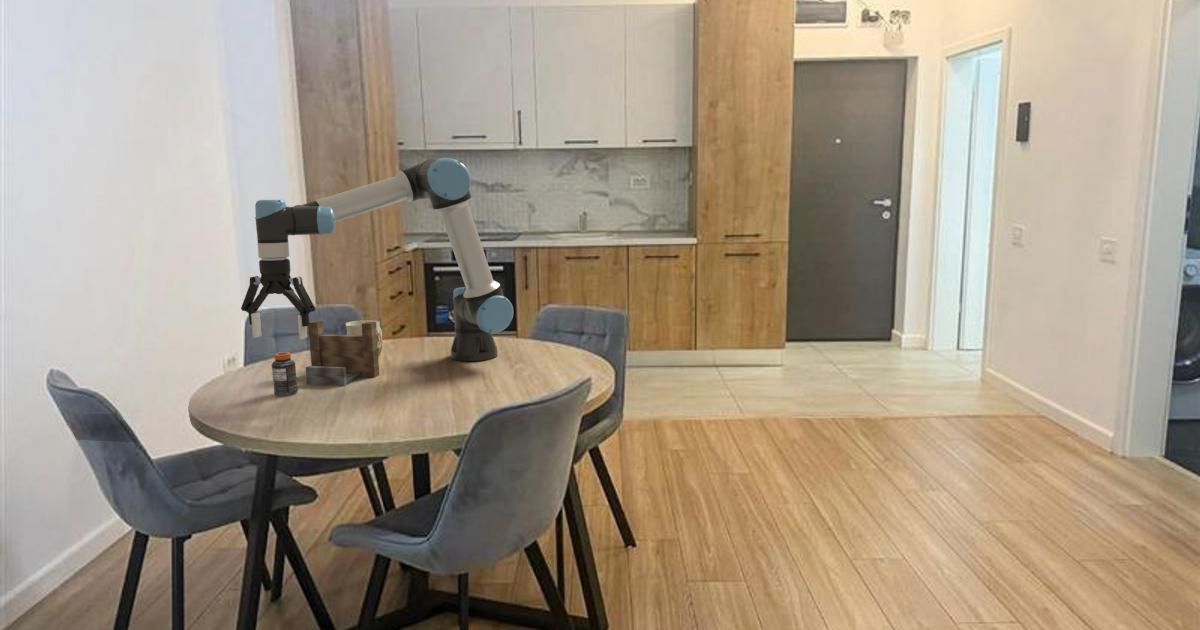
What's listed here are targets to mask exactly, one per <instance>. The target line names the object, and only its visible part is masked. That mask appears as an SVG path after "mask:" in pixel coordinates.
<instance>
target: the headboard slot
mask: <svg viewBox="0 0 1200 630" xmlns="http://www.w3.org/2000/svg"><path fill="white" fill-rule="evenodd" d="M323 321H324V320H312V321H311V320H310V321H309V326H307V330H308V337H309V338H308V340H309V341H308V342H309V350H310V351H309V352H310V362H311V363H310V364H311V365H308V366H306V367H305V375H306V376H305V377H306V385H310V386H311V385H312V386H313V385H315V386H317V385H318V386H343V387H344V386H347V385H349V384H351V383H353V382H355V381H356V380H358V379H361V378H362V377H365V378H377V377H378V376H380V365H379V364H380V363H379V360H378V345H377V330H376V322H364V323H362V335H347V334H326V333H325V332H324V322H323Z"/></svg>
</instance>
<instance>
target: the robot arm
mask: <svg viewBox="0 0 1200 630" xmlns="http://www.w3.org/2000/svg"><path fill="white" fill-rule="evenodd" d="M471 181H472V180H471V174H470V172H469V170H468V168H467V167H466V166H465V164H463V163H462V162H461V161H459V160H457V159H454V158H450V157H440V158H430V159H426V160H425V161H422V162H419V163H417V164H415V165H413V166H411V167H408V168H405V169H402V170H399V171H397V174H396V175H394V176H391V177H388V178H385V179H382V180H379V181H374V182H372V183H368V184H365V185H361V186H358V187H355V188H352V189H349V190H346V191H343V192H339V193H336V194H333V195H329V196H326V197H323V198H319V199H316V200H314V201H310V202H307V203H304V204H297V205H294V206H287V204H286V201H285V200H284V199H259V200H257V201H256V202H255V206H254V207H255V211H254V212H255V218H254V219H255V226H256V240H257V254H258V256H257V257H258V258H259V259H260V260H259V261H258V263H259V264H258V265H259V273H260V274H261V275H260V276H259V275H256V276H250V277H249V286H248V289H247V291H246V294H245V296H244V299H243V302H242V304H241V307H240V310H241V311H242V312H247V313H248V320H249V321H248V323H249V325H250V326H251V328H252V331H251V332H252V339H255V338H259V337H262V335H263V334H262V328H261V327H262V326H261V325H262V324H261V312H258V311H259V310H258V309H260V307H261V306H262V304H263V303H264V301H265V300H266V299H267V297H268V296H269V295H272V294H275V295H283V296H285V297H286V298H287V299H288V300H289V302H290V303H291V304H292V306H293V307H295V309H296V310H297V311H298V312H299V314H297V322H298V323H297V325H298V326H297V327H298V338H299V339H298V340H304V339H307V338H308V326H309V322H310V319H309V318H310V316H309V315H310V313H313V312H315V311H316V307H315V304H314V303H313V302H312V299H311V298H310V296H309V293H308V292H307V290H306V288H305V286H304V282H303V278H302V276H295V277H291V262H290V261H291V260H290V259H289V258H288V257H290V248H289V236H311V235H315V236H316V235H320V236H322V235H331V234H332V233H334V231H335V226H336V223H337V222H340V221H344V220H347V219H350V218H353V217H356V216H360V215H363V214H367V213H369V212H372V211H376V210H379V209H382V208H385V207H387V206H388V207H389V206H390V205H394V204H397V203H400V202H404V201H407V202H408V203H412V202H415V201H418V200H424V199H427V200H428V199H430V203H431V207H432V208H433V211H435V212H437V213H439V215H440V216H441V219H442V222H443V225H444V227H445V231H446V234H447V237H448V239H449V242H450V246H451V248H452V251H453V254H454V257H455V261H456V263H457V265H458V268H459V272H460V274H461V277H462V280H463V283H464V286H463V287H456V288H454V290H453V292H452V293H453V294H452V295H453V296H452V300H453V303H452V304H453V318H454V320H453V321H454V335H453V336H454V337H453V340H452V343H451V348H450V358H451V359H452V360H454V361H459V362H480V361H486V360H492V359H494V358H496V357H498V351H499V350H498V347H497V344H496V342H495V339H494V336H493V334H496V333H500V332H503V331H504V330H505V329H507V328H508V327H509V325H510V324H511V323H512V320H513V317H514V306H513V304H512V302H511V301H510V300H509V299H508V298H507V297H506V296H504V292H503V289H502V286H501V284H500V282H498V281H496V280H494V279H493V275H492V272H491V269H490V266H489V263H488V260H487V257H486V254H485V251H484V247H483V244H482V242H481V238H480V235H479V233H478V230H477V226H476V224H475V221H474V218H473V215H472V212H471V208H470V203H471V201H472V199H473V198H472V195H471V191H470V187H471ZM260 285H262V287H261V289H260V290H258V289H259V286H260ZM291 286H293V288H294V289H293V288H292V287H291ZM294 290H295V291H294ZM258 291H259V293H258V294H257V292H258ZM295 292H296V293H295ZM256 294H257V296H256ZM255 297H256V298H255Z"/></svg>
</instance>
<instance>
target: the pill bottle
mask: <svg viewBox="0 0 1200 630" xmlns="http://www.w3.org/2000/svg"><path fill="white" fill-rule="evenodd" d="M291 358H292V354H291V352H289V351H285V352H284V351H282V352H277V353H275V354H274V361H273V362H272V364H271V373H272V375H271V376H272V384H273V392H274V395H275V396H276V397H289V396H290V397H291V396H293V395H296V394H297V393H298V391H299V390H298V381H297V368H296V362H295V361H294V360H293V359H291Z"/></svg>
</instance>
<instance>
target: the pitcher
mask: <svg viewBox="0 0 1200 630" xmlns="http://www.w3.org/2000/svg"><path fill="white" fill-rule="evenodd" d="M364 322H376V330H377V345H378V360H379V359H380V357H381V354H382V349H383V332H382V331H383V330H382V328H381V326H380V322H381V321H380V320H376V319H375V320H374V319H364V320H363V319H362V320H361V319H360V320H353V321H349V322H345V323H344V324H345V327H346V335H362V323H364Z"/></svg>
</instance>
